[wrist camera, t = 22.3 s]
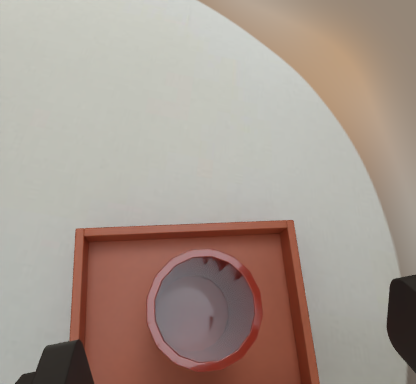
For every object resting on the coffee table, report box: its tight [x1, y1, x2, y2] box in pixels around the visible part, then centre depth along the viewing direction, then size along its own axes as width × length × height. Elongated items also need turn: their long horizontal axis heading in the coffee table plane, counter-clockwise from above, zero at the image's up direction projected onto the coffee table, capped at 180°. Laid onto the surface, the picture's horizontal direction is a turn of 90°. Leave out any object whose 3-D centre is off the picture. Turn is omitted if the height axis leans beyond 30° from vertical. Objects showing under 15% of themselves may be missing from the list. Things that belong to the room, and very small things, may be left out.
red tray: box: [70, 220, 320, 384], centre depth 26 cm, size 16×12×2 cm
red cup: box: [146, 249, 263, 372], centre depth 22 cm, size 6×6×8 cm
